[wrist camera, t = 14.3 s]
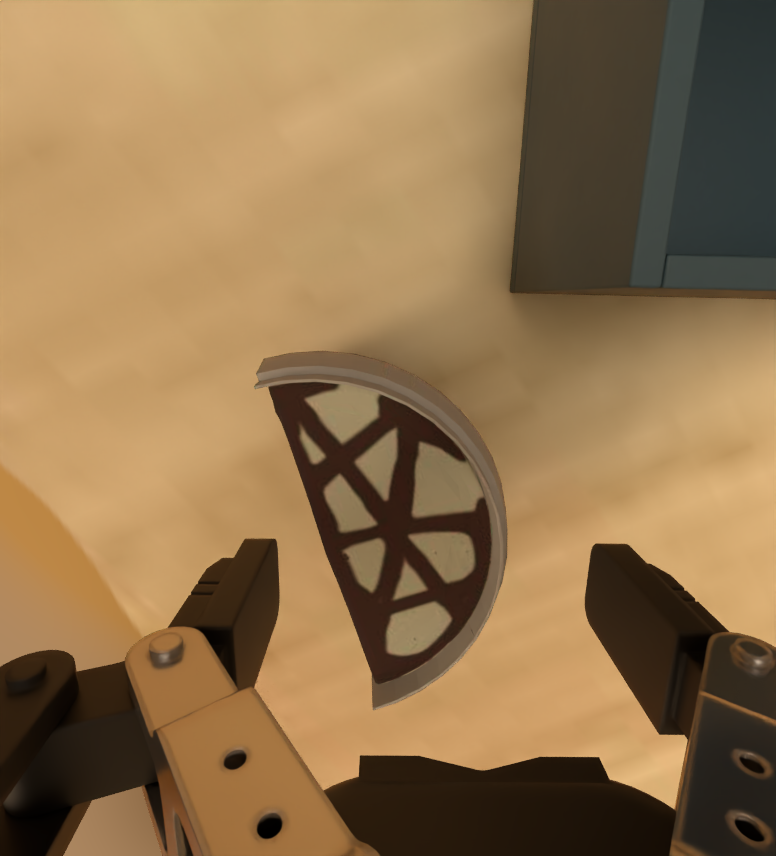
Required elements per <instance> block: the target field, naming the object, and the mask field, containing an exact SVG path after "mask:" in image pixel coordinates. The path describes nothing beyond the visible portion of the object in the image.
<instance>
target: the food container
mask: <svg viewBox="0 0 776 856" xmlns="http://www.w3.org/2000/svg"><path fill="white" fill-rule="evenodd" d="M256 375H257V377H258V380H259V382H258V383H257V384H256V385H255V386H254V388H255V389H258V388H263V387H268V386H269V391H270V395H271V397H272V400H273V403H274V408H275V412H276V414H277V415H278V417H279V419H280V421H281V423H282V426H283V428H284V431H285V433H286V436H287V439H288V442H289V444H290V447H291V450H292V453H293V456H294V459H295V462H296V465H297V467H298V470H299V473H300V476H301V479H302V482H303V485H304V488H305V491H306V494H307V497H308V500H309V502H310V506H311V509H312V512H313V515H314V518H315V521H316V524H317V527H318V531H319V534H320V537H321V540H322V543H323V546H324V549H325V552H326V555H327V558H328V560H329V562H330V565H331V567H332V570H333V572H334V575H335V577H336V579H337V582H338V584H339V587H340V589H341V592H342V594H343V597H344V599H345V602H346V605H347V607H348V610H349V612H350V615H351V618H352V620H353V623H354V626H355V629H356V631H357V634H358V637H359V640H360V642H361V645H362V648H363V651H364V653H365V656H366V659H367V662H368V664H369V667H370V670H371V672H372V701H373V710H376V709H379V708H382V707H385V706H388V705H391V704H394V703H397V702H399V701H401V700H403V699H405V698H407V697H409V696H411V695H413V694H415V693H417V692H420V691H421V690H423V689H424V688H426V687H427V686H429V685H430V684H431V683H433V682H434V681H436V680H437V679H439V678H440V677H442V676H443V675H444V674H445V673H446V672H447V671H448V670H449V669H450V668H452V667H453V666H454V665H455V664H456V663H457V662H458V661H459V660H460V659H461V658H462V657H463V656H464V654H465V653H466V652H467V651H468V649H469V648H470V647H471V646H472V644H473V643H474V642H475V641H476V639H477V638H478V636H479V634H480V632H481V631H482V629H483V627H484V625H485V624H486V622H487V620H488V618H489V616H490V614H491V611H492V608H493V606H494V603H495V600H496V598H497V595H498V592H499V589H500V587H501V584H502V580H503V575H504V570H505V564H506V559H507V519H506V508H505V502H504V496H503V490H502V484H501V481H500V478H499V475H498V472H497V469H496V466H495V463H494V461H493V458H492V456H491V454H490V452H489V450H488V449H487V447H486V445H485V443H484V441H483V440H482V438H481V436H480V434H479V433H478V431H477V430H476V429H475V428H474V426H473V425H472V424H471V423H470V421H469V420H468V419H467V418H466V416H465V415H464V414H463V413H462V411H461V410H460V409H459V408H457V407H456V406H455V405H454V404H453V403H452V402H451V401H450V400H449V399H447V398H446V397H445V396H444V395H443V394H442V393H441V392H440V391H438V390H437V389H435V388H434V387H432V386H431V385H429V384H428V383H426V382H424V381H423V380H421V379H420V378H418V377H417V376H415V375H413V374H411V373H409V372H407V371H404V370H402V369H400V368H397V367H395V366H393V365H391V364H388V363H386V362H383V361H379V360H375V359H371V358H368V357H364V356H360V355H356V354H348V353H338V352H328V351H314V352H297V353H288V354H284V355H279V356H274V357H270V358H265V359H263V361H262V363H261V365H260V367H259V369H258V371H257V373H256Z"/></svg>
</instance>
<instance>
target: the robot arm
mask: <svg viewBox="0 0 776 856" xmlns="http://www.w3.org/2000/svg"><path fill="white" fill-rule="evenodd" d="M278 610H279V571H278V548H277V542H276V539H245V540H244V541H243V543H242V545H241V546H240V548H239V550H238V552H237V553H236V555H235V557H234V558H222V559H220V560H219V561H217V562H216V563H214V564H213V565H212V566H210V567H209V568H207V569H206V571H205V572H204V574H203V575H202V577H201V578H200V580H199V581H198V584H196V586H195V587H194V589H193V590H192V592H191V595H189V596H188V598H187V599H186V601H185V602H184V604H183V605H182V607H181V609H180V610H179V612H178V613H177V615H176V616H175V618H174V619H173V621H172V622H171V624H170V625H169V627H168V628H166V629H162V630H159V631H156V632H153V633H151V634H149V635H147V636H145V637H144V638H142V639H141V640H139V641H138V642H137V643H135V644H134V645H133V646H132V647H131V648H130V650H129V651H128V653H127V655H126V657H125V661H123V662H120V663H116V664H112V665H107V666H102V667H98V668H93V669H88V670H83V671H78V672H76V665H75V661H74V658H73V657H72V656H71V655H70V654H69V653H67V652H64V651H59V650H46V651H39V652H35V653H31V654H27V655H24V656H21V657H19V658H17V659H14V660H12V661H10V662H8V663H6V664H4V665H3V666H1V667H0V856H63V855H64V853H65V851H66V849H67V847H68V845H69V843H70V841H71V840H72V838H73V835H74V833H75V832H76V830H77V828H78V826H79V824H80V822H81V820H82V818H83V817H84V815H85V813H86V811H87V809H88V807H89V805H90V803H91V801H92V800H94V799H98V798H101V797H105V796H108V795H112V794H115V793H119V792H122V791H126V790H129V789H133V788H136V787H140V786H142V790H143V794H144V797H145V800H146V804H147V807H148V810H149V813H150V817H151V820H152V823H153V827H154V830H155V833H156V836H157V840H158V843H159V847H160V850H161V853H162V856H776V647H774V646H772V645H770V644H768V643H766V642H764V641H762V640H760V639H757V638H754V637H751V636H748V635H744V634H739V633H732V632H729V631H728V630H727V629H726V628H725V627H724V626H723V625H722V624H721V623H720V622H719V621H717V620H716V619H715V618H714V617H713V616H712V615H711V614H710V613H709V612H708V611H707V610H706V609H705V608H704V607H703V606H702V605H701V604H700V603H699V602H695V598H694V597H693V596H692V595H690V594H689V593H688V592H687V591H684V588H683V587H682V586H681V585H680V584H679V583H678V582H677V581H676V580H675V579H674V578H673V577H672V576H671V575H669V574H667V573H666V572H664V571H662V570H660V569H659V568H657V567H655V566H653V565H652V564H647V563H646V562H645V561H644V560H643V559H642V558H641V557H640V556H639V555H638V554H637V553H636V552H635V551H634V550H633V549H632V548H631V547H630V546H629V545H627V544H595V545H594V546H593V548H592V551H591V556H590V563H589V571H588V579H587V586H586V594H585V611H586V616H587V619H588V622H589V624H590V626H591V627H592V629H593V631H594V632H595V634H596V635H597V637H598V638H599V640H600V642H601V643H602V645H603V646H604V648H605V650H606V651H607V653H608V654H609V656H610V657H611V659H612V661H613V662H614V664H615V665H616V667H617V669H618V670H619V672H620V673H621V675H622V676H623V678H624V680H625V681H626V683H627V684H628V686H629V688H630V689H631V691H632V692H633V694H634V695H635V697H636V699H637V700H638V702H639V703H640V705H641V706H642V708H643V710H644V711H645V713H646V714H647V716H648V718H649V719H650V721H651V722H652V724H653V725H654V727H655V729H656V730H657V732H658V733H659V735H685V736H686V738H687V739H688V742H687V747H686V752H685V757H684V762H683V767H682V772H681V778H680V783H679V788H678V793H677V798H676V804H675V809H673V808H671V807H669V806H668V805H666V804H665V803H663V802H662V801H660V800H658V799H656V798H654V797H652V796H651V795H649V794H647V793H645V792H642V791H640V790H638V789H636V788H633V787H631V786H628V785H625V784H622V783H619V782H616V781H613V780H609V778H608V776H607V773H606V771H605V769H604V767H603V765H602V763H601V761H600V758H599V757H538V758H534V759H530V760H526V761H522V762H518V763H514V764H510V765H506V766H502V767H498V768H495V769H491V770H485V771H482V770H475V769H471V768H467V767H463V766H458V765H454V764H450V763H446V762H442V761H438V760H434V759H429V758H425V757H421V756H360V765H359V777H357V778H353V779H349V780H346V781H344V782H341V783H338V784H336V785H333V786H331V787H330V788H328V789H326V790H324V791H323V790H322V788H321V787H320V785H319V784H318V782H317V781H316V779H315V778H314V776H313V775H312V773H311V772H310V770H309V769H308V767H307V766H306V764H305V763H304V761H303V760H302V758H301V757H300V755H299V754H298V752H297V751H296V749H295V748H294V746H293V745H292V743H291V742H290V740H289V739H288V737H287V736H286V734H285V733H284V731H283V730H282V728H281V727H280V725H279V724H278V722H277V721H276V719H275V718H274V716H273V715H272V713H271V712H270V710H269V709H268V707H267V706H266V704H265V703H264V701H263V700H262V698H261V697H260V695H259V694H258V692H257V691H256V690H255V689H254V686H255V683H256V680H257V677H258V674H259V671H260V668H261V665H262V662H263V659H264V656H265V653H266V650H267V647H268V644H269V641H270V638H271V635H272V632H273V629H274V627H275V624H276V620H277V616H278Z"/></svg>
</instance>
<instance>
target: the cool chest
mask: <svg viewBox="0 0 776 856" xmlns="http://www.w3.org/2000/svg"><path fill="white" fill-rule="evenodd" d="M510 292H511V293H536V294H578V295H621V296H663V297H706V298H748V299H776V0H534V4H533V16H532V28H531V40H530V53H529V65H528V77H527V89H526V102H525V114H524V126H523V139H522V151H521V163H520V175H519V188H518V200H517V212H516V225H515V237H514V249H513V261H512V274H511V286H510Z"/></svg>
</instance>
